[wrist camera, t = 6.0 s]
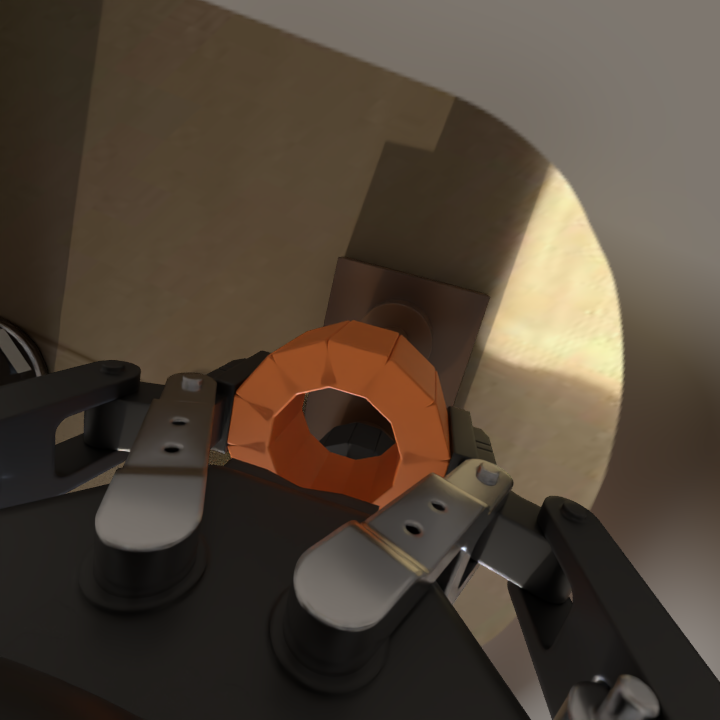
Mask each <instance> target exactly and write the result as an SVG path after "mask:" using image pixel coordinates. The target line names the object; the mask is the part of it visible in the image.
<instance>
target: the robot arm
mask: <svg viewBox="0 0 720 720" xmlns="http://www.w3.org/2000/svg"><path fill="white" fill-rule="evenodd" d="M269 354H271V353H269V352H265V351H260V352H258V353H256V354H255V355H253V356H251V357H249V358H248V359H245V358H244V359H238V360H233V361H231V362H229V363H227V364H225V366H222V367H220V368H219V369H216V370H214V371H212V372H210V373H209V374H207V375H203V374H199V373H178V374H174V375H172V376H170V377H169V378H168V379H167V381H166V384H165V385H160V384H153V383H146V382H140V373H141V369H140V368H139V367H138V366H137V365H135V364H132V363H129V362H124V361H118V360H107V361H98V362H93V363H89V364H85V365H81V366H77V367H74V368H70V369H66V370H62V371H58V372H54V373H50V374H48V372H47V368H46V365H45V362H44V359H43V357H42V355H41V353H40V352H39V350H38V348H37V347H36V345H35V344H34V343H33V341H32V340H31V339H30V338H29V337H28V336H27V335H26V334H25V333H24V332H23V331H22V330H21V329H19V328H18V327H17V326H15V325H14V324H12V323H10V322H8V321H6V320H3V319H0V720H531V719H530V718H529V716H528V715H527V713H526V712H525V710H524V709H523V707H522V706H521V705H520V703H519V702H518V700H517V699H516V697H515V696H514V694H513V693H512V691H511V690H510V688H509V687H508V685H507V684H506V683H505V681H504V680H503V678H502V677H501V675H500V674H499V672H498V671H497V669H496V668H495V667H494V665H493V664H492V662H491V661H490V659H489V658H488V656H487V655H486V653H485V652H484V651H483V649H482V648H481V646H480V645H479V643H478V642H477V640H476V639H475V637H474V636H473V634H472V633H471V632H470V630H469V629H468V627H467V626H466V624H465V623H464V621H463V620H462V618H461V617H460V616H459V614H458V613H457V611H456V610H455V608H454V607H453V603H454V602H455V600H456V599H457V598H458V596H459V595H460V593H461V592H462V590H463V589H464V588H465V586H466V585H467V583H468V582H469V580H470V579H471V577H472V576H473V575H474V573H475V572H476V570H477V569H478V567H479V566H480V564H482V565H483V566H485V567H487V568H489V569H490V570H492V571H494V572H495V573H497V574H499V575H500V576H502V577H504V578H506V579H507V580H508V583H507V587H508V591H509V594H510V597H511V600H512V603H513V606H514V608H515V611H516V614H517V617H518V620H519V623H520V626H521V629H522V632H523V635H524V638H525V641H526V644H527V647H528V650H529V653H530V656H531V658H532V662H533V665H534V668H535V670H536V673H537V676H538V679H539V682H540V685H541V688H542V691H543V694H544V697H545V700H546V703H547V706H548V709H549V712H550V715H551V718H552V720H720V682H719V680H718V679H717V678H716V676H715V675H714V674H713V672H712V671H711V670H710V668H709V667H708V666H707V664H706V663H705V662H704V660H703V659H702V658H701V656H700V655H699V654H698V652H697V651H696V650H695V648H694V647H693V645H692V644H691V643H690V641H689V640H688V639H687V637H686V636H685V635H684V633H683V632H682V631H681V629H680V628H679V627H678V625H677V624H676V623H675V621H674V620H673V619H672V617H671V616H670V615H669V613H668V612H667V611H666V609H665V608H664V607H663V605H662V604H661V603H660V602H659V600H658V599H657V598H656V596H655V595H654V593H653V592H652V591H651V589H650V588H649V587H648V585H647V584H646V582H645V581H644V580H643V578H642V577H641V576H640V575H639V573H638V572H637V570H636V569H635V568H634V566H633V565H632V564H631V562H630V561H629V560H628V558H627V557H626V556H625V554H624V553H623V552H622V550H621V549H620V548H619V546H618V545H617V544H616V542H615V541H614V540H613V538H612V537H611V536H610V534H609V533H608V532H607V530H606V529H605V527H604V526H603V525H602V523H601V522H600V521H599V520H598V519H597V517H595V515H593V513H591V512H590V511H589V510H587V509H586V508H584V507H583V506H581V505H580V504H578V503H576V502H574V501H571V500H569V499H566V498H563V497H559V496H549V497H547V498H545V500H544V502H543V504H542V507H540V506H538V505H536V504H534V503H532V502H530V501H528V500H526V499H524V498H522V497H520V496H519V495H517V494H515V493H514V492H513V491H511V489H512V487H513V480H512V478H511V476H510V475H509V474H508V473H507V472H506V471H504V470H503V469H502V468H500V467H498V466H497V465H496V461H495V457H494V454H493V450H492V447H491V443H490V439H489V437H488V436H487V435H486V434H485V433H484V432H483V430H482V429H479V428H476V427H473V426H472V421H471V416H470V412H469V411H465V410H462V409H459V408H455V407H452V406H448V408H447V412H448V421H449V436H450V450H451V459H450V462H449V465H448V468H447V471H446V474H445V477H444V478H443V477H441V476H439V475H437V474H436V473H434V472H432V473H430V474H428V475H427V476H426V477H424V478H423V479H421V480H420V481H419V482H417V483H416V484H414V485H413V486H412V487H410V488H409V489H408V490H406V491H405V492H403V493H402V494H401V495H399V496H398V497H396V498H395V499H394V500H392V501H391V502H390V503H388V504H387V505H385V506H384V507H383V508H381V509H380V510H379V507H380V506H378V505H375V504H372V503H369V502H366V501H363V500H360V499H357V498H354V497H351V496H347V495H344V494H340V493H334V492H328V491H321V490H315V489H308V488H303V487H300V486H297V485H296V484H294V483H292V482H290V481H288V480H286V479H284V478H283V477H281V476H279V475H277V474H275V473H273V472H272V471H270V470H268V469H265V468H262V467H259V466H256V465H253V464H250V463H247V462H244V461H241V460H238V459H235V458H231V459H230V460H229V461H228V462H227V463H226V464H225V465H224V466H219V465H208V461H209V452H210V449H212V450H215V451H218V452H221V453H224V454H225V453H226V452H227V451H228V443H227V439H228V433H229V426H230V420H231V413H232V407H233V400H234V395H235V394H236V390H237V389H238V388H239V387H240V386H241V385H242V384H243V382H244V381H245V380H246V379H247V378H248V377H249V376H250V375H251V374H252V372H253V371H254V370H255V369H256V368H257V367H258V366H259V365H260V364H261V363H262V361H263V360H264V359H265V358H266V357H267V356H268V355H269ZM82 411H84V433H83V434H80V435H78V436H75V437H73V438H71V439H68V440H66V441H64V442H61V443H59V444H57V445H55V432H56V429H57V427H58V425H59V424H60V423H61V422H62V421H63V420H64V419H65V418H67V417H69V416H71V415H74V414H77V413H80V412H82ZM124 461H125V464H124V466H123V468H118V469H117V470H116V472H115V474H114V476H113V478H112V480H111V482H110V484H106V485H102V486H98V487H93V488H89V489H85V490H80V491H76V492H72V493H67V492H69V491H71V490H73V489H75V488H76V487H78V486H80V485H82V484H84V483H86V482H87V481H89V480H91V479H93V478H95V477H97V476H98V475H100V474H102V473H104V472H106V471H107V470H109V469H111V468H113V467H115V466H117V465H118V464H120V463H122V462H124ZM66 493H67V494H66ZM571 591H572V593H573V603H572V601H571V599H570V597H569V595H570V593H571Z"/></svg>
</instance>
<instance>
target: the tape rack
mask: <svg viewBox="0 0 720 720" xmlns="http://www.w3.org/2000/svg"><path fill="white" fill-rule="evenodd" d="M489 299H490V296H489V295H487V294H485V293H481V292H477V291H473V290H470V289H466V288H462V287H458V286H454V285H450V284H447V283H443V282H439V281H435V280H431V279H428V278H424V277H420V276H416V275H412V274H409V273H405V272H401V271H397V270H393V269H390V268H386V267H382V266H378V265H374V264H370V263H367V262H363V261H359V260H355V259H351V258H348V257H338V262H337V266H336V271H335V275H334V280H333V285H332V289H331V294H330V298H329V303H328V308H327V312H326V317H325V321H324V326H323V327H325V326H329V325H332V324H336V323H340V322H344V321H347V320H348V321H350V322H351V321H352V320H355V321H358V322H362V323H365V324H369V325H373V326H376V327H380V328H384V329H387V330H391V331H394V332H398V333H399V335H403V336H404V337H405V338H406V339H407V340H408V341H409V342H410V343H411V344H412V345H413V346H414V347H415V348H416V349H417V350H418V351H419V352H420V353H421V354H422V355H423V356H424V357H425V358H426V359H427V360H428V361H429V362H430V363H431V364H432V365H433V366H434V367H435V371H437V373H438V376H439V380H440V384H441V388H442V392H443V396H444V400H445V404H446V408H448V406H452V407H453V405H454V402H455V399H456V396H457V393H458V390H459V387H460V384H461V381H462V378H463V375H464V372H465V370H466V367H467V364H468V361H469V358H470V355H471V352H472V349H473V346H474V343H475V340H476V337H477V334H478V332H479V329H480V326H481V323H482V320H483V317H484V314H485V311H486V308H487V305H488V302H489ZM304 416H305V419H306V422H307V425H308V428H309V431H310V433H311V434H312V435H313V436H314V437H315V438H316V439H317V440H318V441H320V440H321V439H322V438H323V437H324V436H325V435H326V434H327V433H328V432H329V431H330V430H331V429H332V428H334V427H336V426H340V425H345V424H350V423H356V422H357V423H362V424H365V425H369V426H372V427H375V428H378V429H381V431H384V432H385V433H386V434H387V435H388V436H389V437H390V438H391V439H392V440H393V441H394V442H395V443H396V439H395V436H394V432H393V429H392V425H391V423H390V422H389V421H388V420H387V419H386V418H385V417H384V416H383V415H382V414H381V413H380V412H379V411H378V410H377V409H376V408H375V407H374V406H373V405H372V404H371V403H370V402H369V401H368V400H367V399H366V398H363V397H360V396H357V395H353V394H350V393H346V392H343V391H340V390H336V389H333V388H325V389H321V390H316V391H312V392H309V395H308V399H307V404H306V409H305V413H304Z"/></svg>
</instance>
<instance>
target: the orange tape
mask: <svg viewBox="0 0 720 720" xmlns="http://www.w3.org/2000/svg"><path fill="white" fill-rule="evenodd" d="M325 388H333V389H336V390H340V391H343V392H346V393H350V394H353V395H357V396H360V397H363V398H366V399H367V400H368V401H369V402H370V403H371V404H372V405H373V406H374V407H375V408H376V409H377V410H378V411H379V412H380V413H381V414H382V415H383V416H384V417H385V418H386V419H387V420H388V421H389V422H390V423H391V425H392V429H393V432H394V436H395V439H396V443H395V444H394V445H393V446H391V447H390V448H389V449H388V450H387V451H386V452H384V453H383V454H382V455H381V456H375V457H369V458H364V459H358V460H354V459H351V458H348V457H345V456H342V455H338V454H335V453H332V452H329V451H328V450H327V449H326V448H325V447H324V446H323V445H322V444H321V443H320V442H319V441H318V440H317V439H316V438H315V437H314V436H313V435H312V434H311V433H310V431H309V428H308V425H307V422H306V419H305V416H304V413H303V410H302V407H303V402H304V397H305V393H308V392H312V391H316V390H321V389H325ZM227 443H228V450H229V452H230V455H231V458H235V459H238V460H241V461H244V462H247V463H250V464H253V465H256V466H259V467H262V468H265V469H268V470H270V471H272V472H273V473H275V474H277V475H279V476H281V477H283V478H284V479H286V480H288V481H290V482H292V483H294V484H296V485H297V486H300V487H303V488H308V489H315V490H321V491H328V492H334V493H340V494H344V495H347V496H351V497H354V498H357V499H360V500H363V501H366V502H369V503H372V504H375V505H378V506H380V507H379V510H380V509H381V508H383V507H384V506H385V505H387V504H388V503H390V502H391V501H392V500H394V499H395V498H396V497H398V496H399V495H401V494H402V493H403V492H405V491H406V490H408V489H409V488H410V487H412V486H413V485H414V484H416V483H417V482H419V481H420V480H421V479H423V478H424V477H426V476H427V475H428V474H430V473H432V472H434V473H436V474H437V475H439V476H441V477H443V478H444V477H445V474H446V471H447V468H448V465H449V462H450V459H451V450H450V436H449V421H448V412H447V408H446V404H445V400H444V396H443V392H442V388H441V384H440V380H439V376H438V373H437V371H435V367H434V366H433V365H432V364H431V363H430V362H429V361H428V360H427V359H426V358H425V357H424V356H423V355H422V354H421V353H420V352H419V351H418V350H417V349H416V348H415V347H414V346H413V345H412V344H411V343H410V342H409V341H408V340H407V339H406V338H405V337H404V336H403V335H399V333H398V332H394V331H391V330H387V329H384V328H380V327H376V326H373V325H369V324H365V323H362V322H358V321H355V320H352V321H351V322H350V321H348V320H347V321H344V322H340V323H336V324H332V325H329V326H325V327H321V328H317V329H314V330H310V331H307V332H305V333H304V334H302V335H300V336H299V337H297V338H295V339H294V340H292V341H290V342H289V343H287V344H286V345H284V346H282V347H281V348H279V349H277V350H276V351H274V352H273V353H271V354H269V355H268V356H267V357H266V358H265V359H264V360H263V361H262V363H261V364H260V365H259V366H258V367H257V368H256V369H255V370H254V371H253V372H252V374H251V375H250V376H249V377H248V378H247V379H246V380H245V381H244V382H243V384H242V385H241V386H240V387H239V388H238V389H237V390H236V394H235V395H234V400H233V407H232V413H231V420H230V426H229V433H228V439H227Z"/></svg>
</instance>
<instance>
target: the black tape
mask: <svg viewBox="0 0 720 720" xmlns="http://www.w3.org/2000/svg"><path fill="white" fill-rule="evenodd" d="M319 442H320V443H321V444H322V445H323V446H324V447H325V448H326V449H327V450H328V451H329V452H332V453H335V454H338V455H342V456H345V457H348V458H351V459H354V460H358V459H364V458H369V457H375V456H381V455H382V454H383V453H384V452H386V451H387V450H388V449H389V448H390V447H391V446H393V445H394V444H395V442H394V441H393V440H392V439H391V438H390V437H389V436H388V435H387V434H386V433H385V432H384V431H381V429H378V428H375V427H372V426H369V425H365V424H362V423H357V422H356V423H350V424H345V425H340V426H336V427H334V428H332V429H331V430H330V431H329V432H328V433H327V434H326V435H325V436H324V437H323V438H322V439H321V440H320V441H319Z"/></svg>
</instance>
